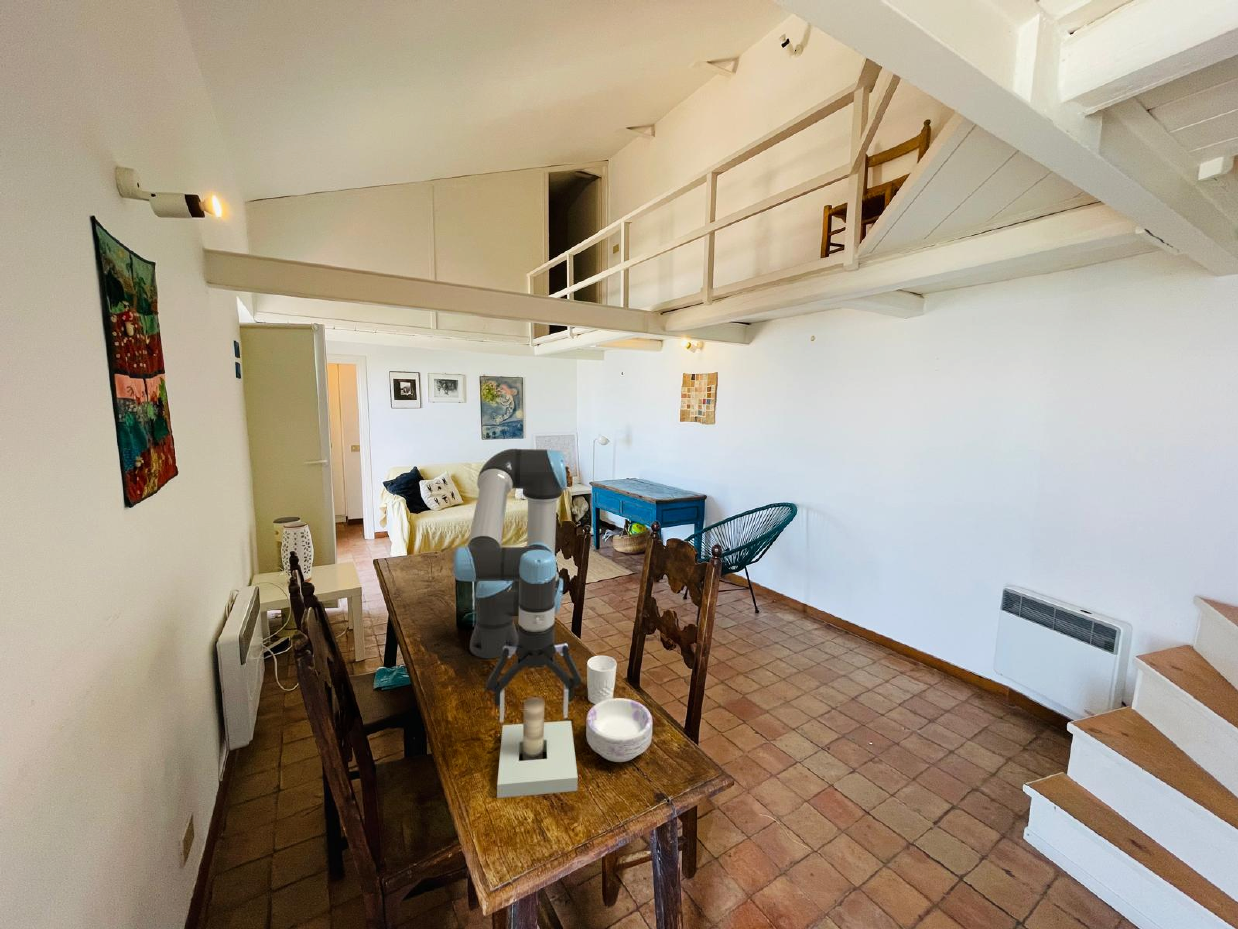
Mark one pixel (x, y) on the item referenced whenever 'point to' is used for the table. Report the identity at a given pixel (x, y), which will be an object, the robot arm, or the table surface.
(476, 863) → the table surface
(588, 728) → the paper bowls
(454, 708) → the table surface
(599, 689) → the white cup
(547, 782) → the socket board
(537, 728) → the maple dowel
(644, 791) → the table surface
